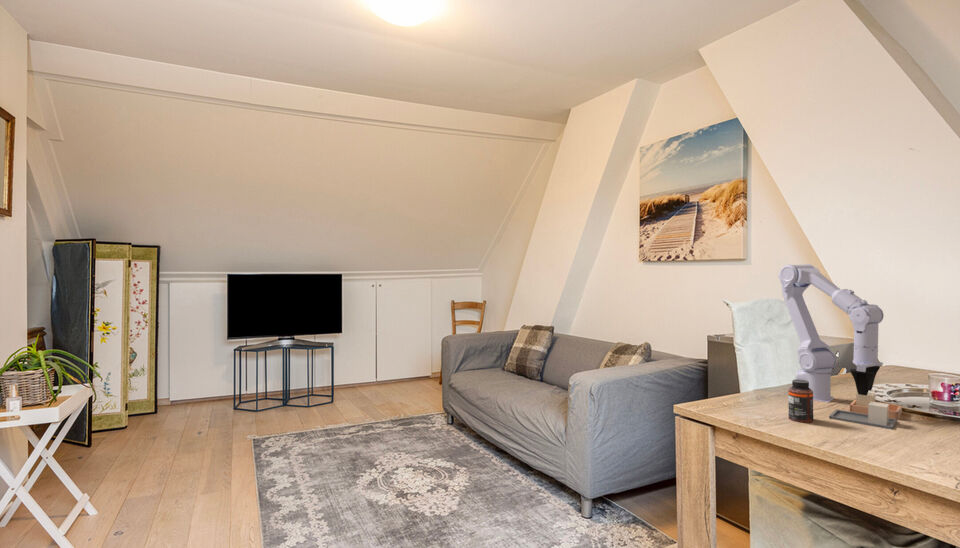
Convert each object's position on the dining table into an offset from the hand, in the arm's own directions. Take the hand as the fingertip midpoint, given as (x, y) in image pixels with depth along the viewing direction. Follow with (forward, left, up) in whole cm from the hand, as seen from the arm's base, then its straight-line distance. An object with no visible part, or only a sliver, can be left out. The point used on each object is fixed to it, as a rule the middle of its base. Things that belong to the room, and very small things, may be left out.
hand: (864, 392), depth 153 cm
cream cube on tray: (+5, -11, -5) cm, 13 cm away
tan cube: (0, 0, -5) cm, 5 cm away
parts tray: (+1, -11, -6) cm, 13 cm away
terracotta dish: (+3, 0, -6) cm, 6 cm away
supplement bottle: (-11, -22, -6) cm, 26 cm away
